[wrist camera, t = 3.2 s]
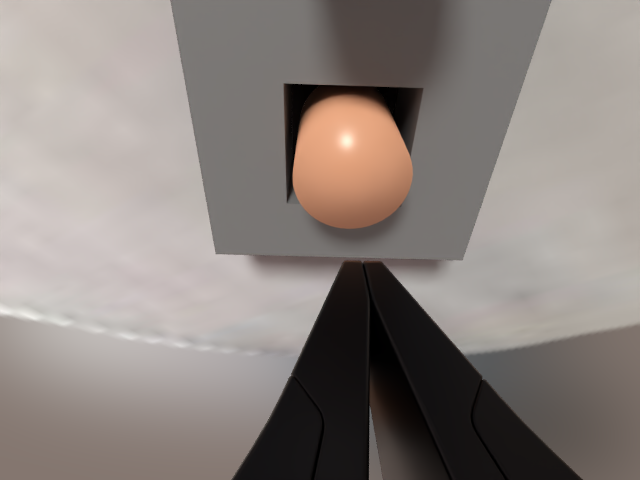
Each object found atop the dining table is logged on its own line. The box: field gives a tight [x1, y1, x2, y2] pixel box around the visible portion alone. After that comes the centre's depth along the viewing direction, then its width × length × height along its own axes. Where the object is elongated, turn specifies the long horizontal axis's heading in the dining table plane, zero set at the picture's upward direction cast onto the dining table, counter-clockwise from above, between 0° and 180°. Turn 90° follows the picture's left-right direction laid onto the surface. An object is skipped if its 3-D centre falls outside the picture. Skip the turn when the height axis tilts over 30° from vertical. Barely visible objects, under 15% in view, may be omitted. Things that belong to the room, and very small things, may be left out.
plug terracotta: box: [293, 85, 413, 229], centre depth 14 cm, size 4×4×5 cm
